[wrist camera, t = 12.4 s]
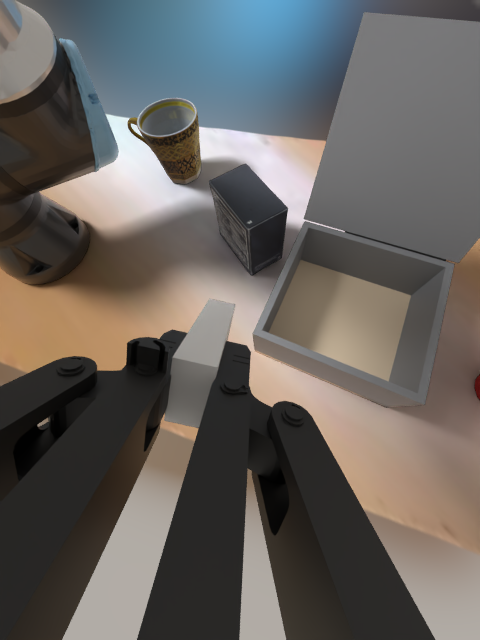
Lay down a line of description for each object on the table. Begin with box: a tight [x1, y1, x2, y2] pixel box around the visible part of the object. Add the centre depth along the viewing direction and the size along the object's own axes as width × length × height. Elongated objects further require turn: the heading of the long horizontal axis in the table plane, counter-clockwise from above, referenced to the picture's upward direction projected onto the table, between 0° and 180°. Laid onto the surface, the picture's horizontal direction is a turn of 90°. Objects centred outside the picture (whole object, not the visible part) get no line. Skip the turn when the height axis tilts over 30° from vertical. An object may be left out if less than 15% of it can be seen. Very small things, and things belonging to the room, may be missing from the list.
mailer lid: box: [304, 13, 480, 263], centre depth 25 cm, size 18×17×1 cm
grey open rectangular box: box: [253, 221, 454, 408], centre depth 32 cm, size 18×17×8 cm
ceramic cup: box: [128, 98, 201, 184], centre depth 45 cm, size 13×10×10 cm
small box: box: [209, 164, 288, 275], centre depth 37 cm, size 11×6×10 cm, turn 31°
